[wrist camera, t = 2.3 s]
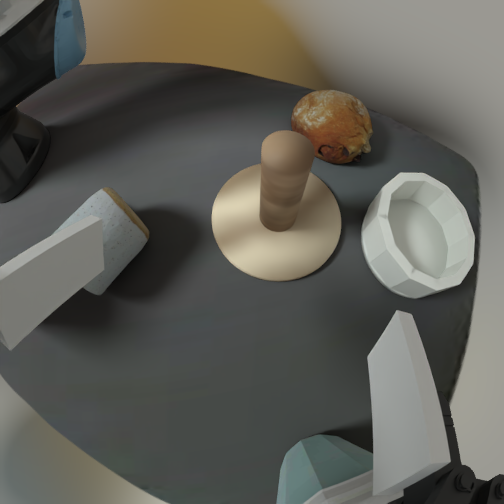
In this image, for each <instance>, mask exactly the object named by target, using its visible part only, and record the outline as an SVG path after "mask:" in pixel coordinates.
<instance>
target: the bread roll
mask: <svg viewBox="0 0 504 504" xmlns="http://www.w3.org/2000/svg"><path fill="white" fill-rule="evenodd" d="M291 126H292V130H293V131H294V132H297V133H300V134H302V135H304V136H305V137H306V138H308V139H309V140H310V142H311V143H312V144H313V146H314V150H315V157H317V158H319V159H321V160H323V161H326V162H330V163H336V164H342V163H347V162H351V161H356V162H360V158H361V154H362V153H368V152H370V151H371V147H370V144H369V139H370V137H371V136H372V134H373V130H372V124H371V119H370V116H369V113H368V111H367V109H366V107H365V106H364V104H362V102H361V101H360V100H359V99H357V98H356V97H354V96H352V95H350V94H347V93H344V92H340V91H336V90H321V91H315V92H311V93H309V94H307V95H305V96H304V97H303V98H302V99H301V100H299V102H298V103H297V104H296V106H295V107H294V109H293V112H292V116H291Z"/></svg>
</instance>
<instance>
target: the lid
mask: <svg viewBox="0 0 504 504" xmlns="http://www.w3.org/2000/svg"><path fill="white" fill-rule="evenodd" d="M314 156H315V150H314V146H313V144H312V143H311V142H310V140H309V139H308V138H306V137H305V136H304V135H302V134H300V133H297V132H294V131H287V130H283V131H277V132H274V133H272V134H270V135H269V136H267V137H266V138H265V140H264V141H263V143H262V152H261V164H257V165H254V166H251V167H248V168H246V169H244V170H242V171H240V172H238V173H237V174H235V175H234V176H233V177H232V178H230V179H229V180H228V181H227V182H226V183H225V185H224V186H223V187H222V188H221V190H220V192H219V193H218V195H217V197H216V199H215V202H214V206H213V211H212V227H213V232H214V236H215V239H216V242H217V244H218V246H219V248H220V250H221V251H222V253H223V254H224V256H225V257H226V258H227V259H228V260H229V261H230V262H231V263H232V264H233V265H234V266H235V267H236V268H238V269H239V270H241V271H242V272H244V273H246V274H248V275H250V276H252V277H255V278H258V279H261V280H266V281H275V282H282V281H291V280H296V279H299V278H302V277H305V276H307V275H309V274H311V273H312V272H314V271H315V270H317V269H318V268H320V267H321V266H322V265H323V264H324V263H325V262H326V261H327V259H328V258H329V257H330V256H331V254H332V253H333V251H334V249H335V248H336V246H337V243H338V240H339V237H340V233H341V215H340V210H339V207H338V204H337V201H336V199H335V197H334V195H333V194H332V192H331V191H330V189H329V188H328V187H327V186H326V185H325V183H324V182H322V181H321V180H320V179H319V178H318V177H316V176H315V175H314V174H312V173H311V172H310V170H311V167H312V163H313V160H314Z"/></svg>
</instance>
